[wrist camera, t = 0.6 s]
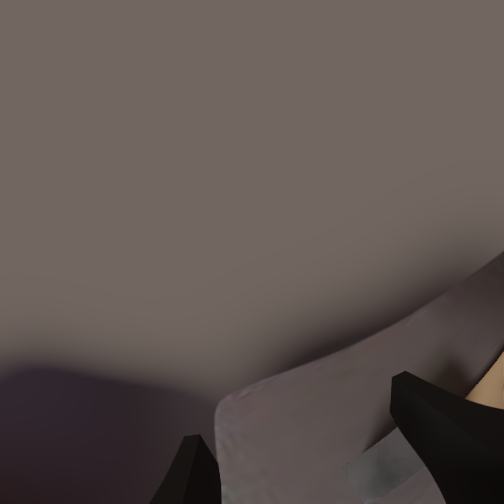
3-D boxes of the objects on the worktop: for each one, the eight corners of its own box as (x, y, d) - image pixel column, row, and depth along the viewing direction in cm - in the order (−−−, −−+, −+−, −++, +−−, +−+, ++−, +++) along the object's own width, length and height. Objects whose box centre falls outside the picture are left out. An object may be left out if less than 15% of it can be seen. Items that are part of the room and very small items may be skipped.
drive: (454, 436, 15) (459, 435, 12) (379, 494, 16) (366, 505, 13) (429, 406, 19) (428, 400, 16) (357, 463, 19) (340, 468, 16)
